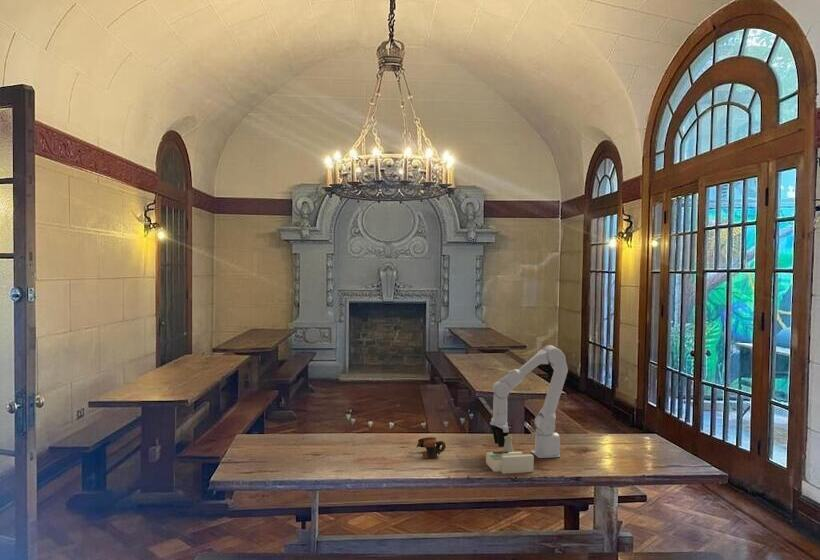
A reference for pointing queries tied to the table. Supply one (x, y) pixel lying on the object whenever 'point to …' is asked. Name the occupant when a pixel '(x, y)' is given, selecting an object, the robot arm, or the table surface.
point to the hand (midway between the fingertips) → (499, 445)
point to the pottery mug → (431, 447)
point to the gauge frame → (510, 463)
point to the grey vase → (508, 444)
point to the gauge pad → (508, 453)
